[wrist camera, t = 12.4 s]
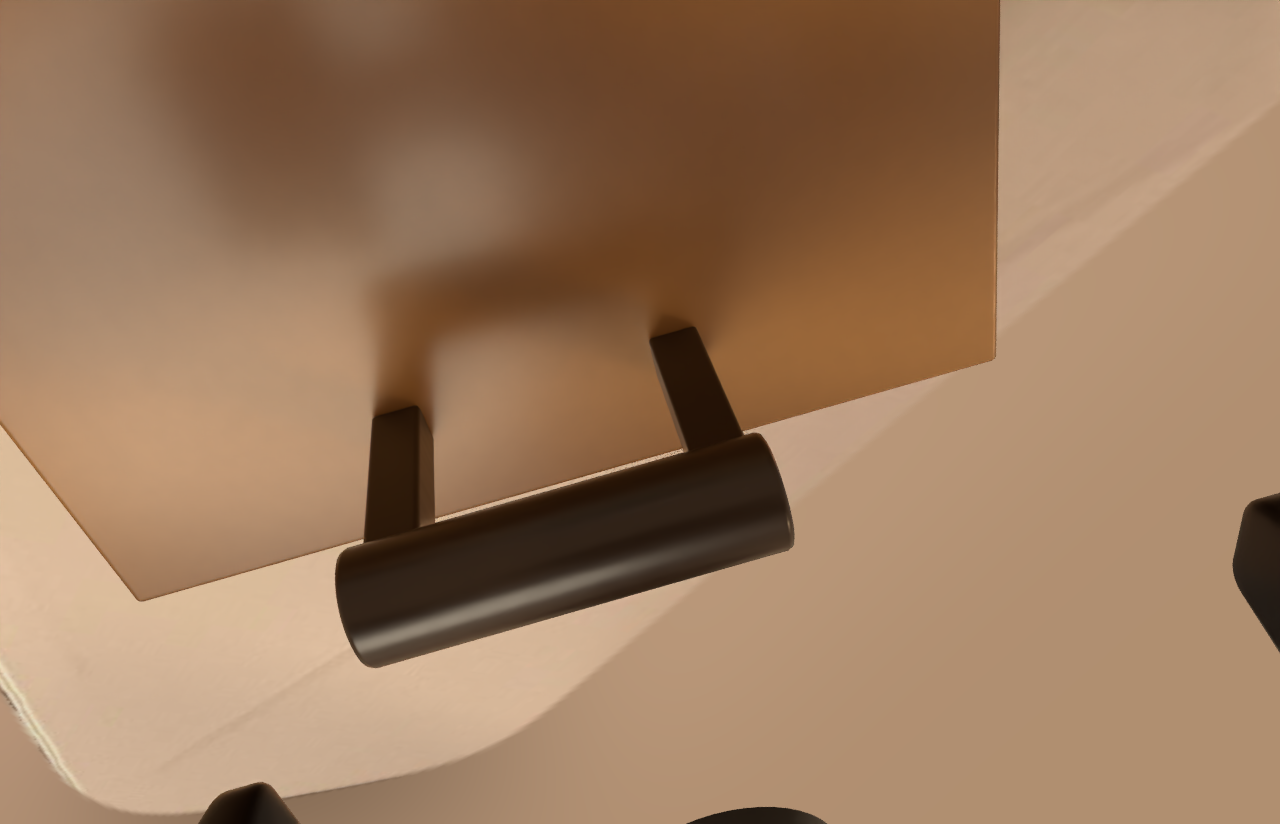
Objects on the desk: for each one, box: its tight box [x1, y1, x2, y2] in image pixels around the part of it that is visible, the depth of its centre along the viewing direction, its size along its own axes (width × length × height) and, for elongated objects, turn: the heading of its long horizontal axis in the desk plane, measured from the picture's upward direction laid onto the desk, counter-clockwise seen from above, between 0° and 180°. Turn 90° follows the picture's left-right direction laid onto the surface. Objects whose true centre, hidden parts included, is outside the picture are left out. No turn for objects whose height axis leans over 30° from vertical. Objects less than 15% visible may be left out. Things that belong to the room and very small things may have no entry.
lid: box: [0, 0, 1000, 668], centre depth 10 cm, size 11×14×5 cm
